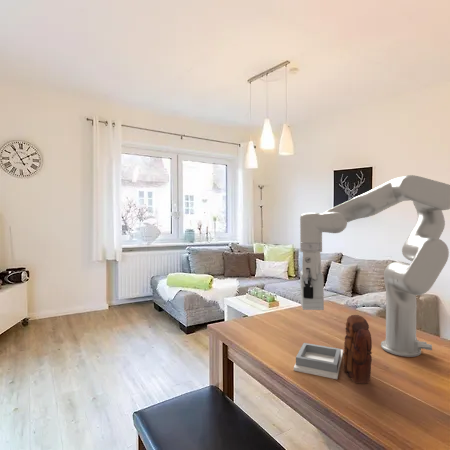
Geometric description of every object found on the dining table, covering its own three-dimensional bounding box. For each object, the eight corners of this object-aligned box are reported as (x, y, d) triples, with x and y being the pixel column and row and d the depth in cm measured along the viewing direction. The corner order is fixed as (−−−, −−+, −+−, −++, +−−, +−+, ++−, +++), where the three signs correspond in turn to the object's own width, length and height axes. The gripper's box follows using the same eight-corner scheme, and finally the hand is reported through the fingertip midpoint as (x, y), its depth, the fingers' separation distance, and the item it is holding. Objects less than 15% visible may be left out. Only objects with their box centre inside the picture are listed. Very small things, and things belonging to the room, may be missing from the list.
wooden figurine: (339, 365, 101) (339, 310, 101) (359, 365, 101) (359, 310, 100) (353, 385, 89) (353, 323, 89) (375, 385, 89) (376, 323, 89)
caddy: (343, 352, 111) (343, 342, 111) (337, 379, 93) (337, 367, 92) (306, 346, 116) (306, 336, 116) (293, 370, 98) (293, 359, 98)
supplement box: (320, 304, 116) (320, 270, 115) (324, 310, 108) (323, 274, 108) (300, 304, 117) (299, 270, 116) (302, 310, 109) (301, 274, 109)
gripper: (316, 250, 102) (317, 302, 103) (326, 245, 118) (326, 290, 118) (294, 249, 106) (294, 299, 106) (306, 244, 121) (306, 288, 122)
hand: (311, 294), depth 112 cm, fingers closed on supplement box, 9 cm apart
